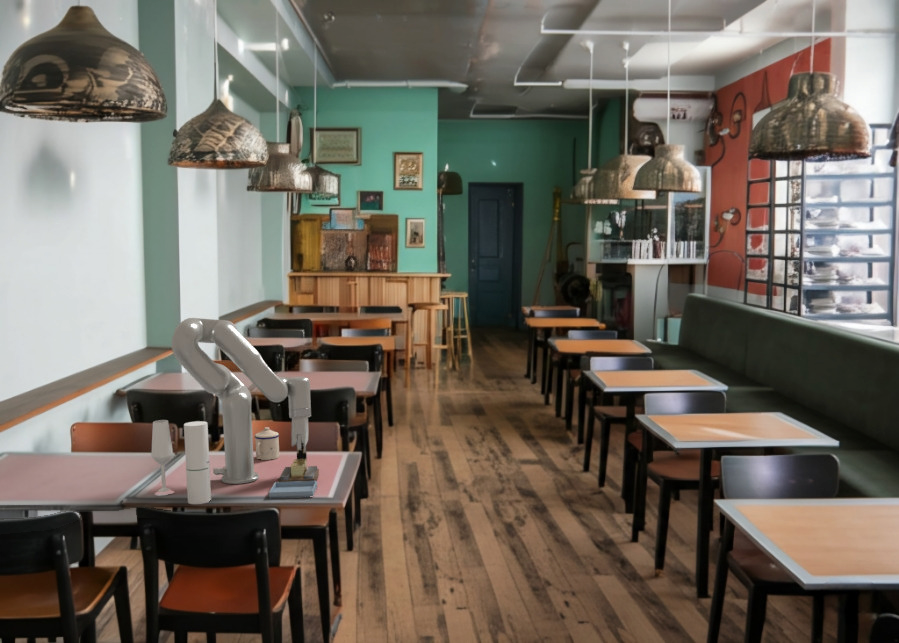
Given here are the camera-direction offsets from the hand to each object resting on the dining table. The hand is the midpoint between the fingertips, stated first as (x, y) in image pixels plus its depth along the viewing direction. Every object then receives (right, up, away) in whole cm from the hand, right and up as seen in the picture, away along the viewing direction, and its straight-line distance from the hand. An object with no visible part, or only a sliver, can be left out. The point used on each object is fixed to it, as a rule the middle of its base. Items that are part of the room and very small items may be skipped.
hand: (301, 463), depth 301 cm
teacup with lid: (-18, -2, +25) cm, 31 cm away
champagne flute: (-42, -7, -18) cm, 47 cm away
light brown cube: (0, -2, -5) cm, 5 cm away
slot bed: (0, -5, -8) cm, 9 cm away
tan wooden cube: (0, -2, -10) cm, 11 cm away
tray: (+1, -6, -21) cm, 22 cm away
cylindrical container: (-28, -7, -28) cm, 40 cm away
